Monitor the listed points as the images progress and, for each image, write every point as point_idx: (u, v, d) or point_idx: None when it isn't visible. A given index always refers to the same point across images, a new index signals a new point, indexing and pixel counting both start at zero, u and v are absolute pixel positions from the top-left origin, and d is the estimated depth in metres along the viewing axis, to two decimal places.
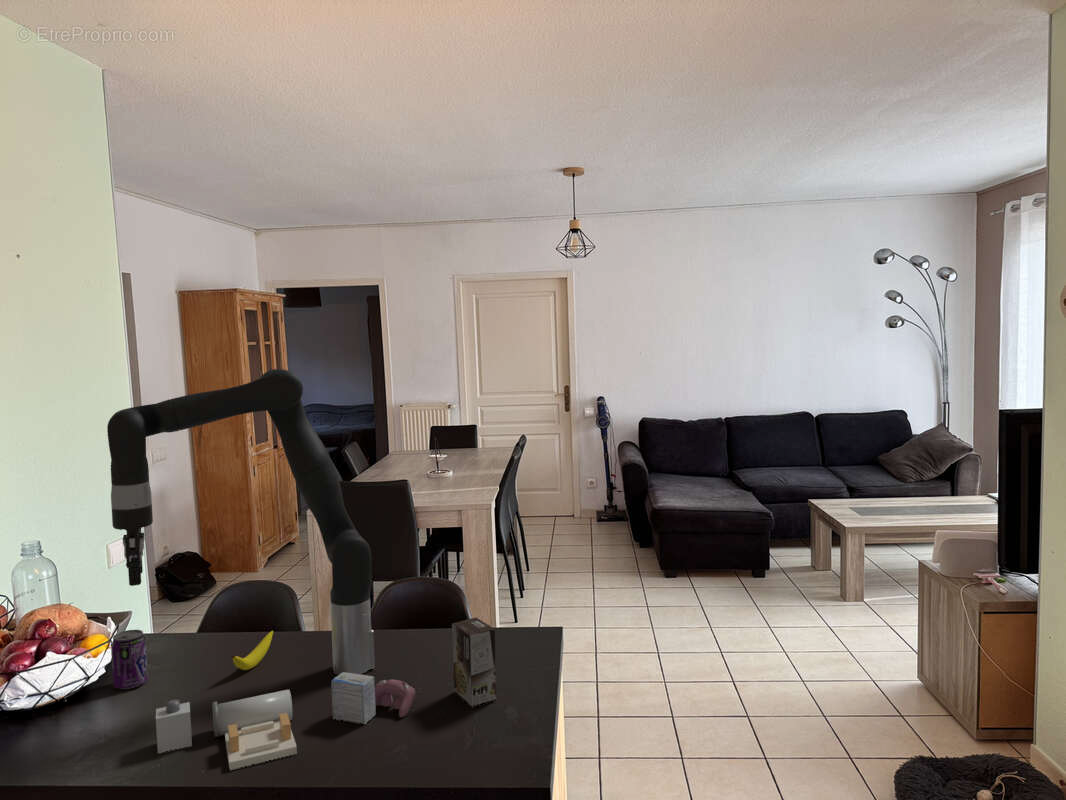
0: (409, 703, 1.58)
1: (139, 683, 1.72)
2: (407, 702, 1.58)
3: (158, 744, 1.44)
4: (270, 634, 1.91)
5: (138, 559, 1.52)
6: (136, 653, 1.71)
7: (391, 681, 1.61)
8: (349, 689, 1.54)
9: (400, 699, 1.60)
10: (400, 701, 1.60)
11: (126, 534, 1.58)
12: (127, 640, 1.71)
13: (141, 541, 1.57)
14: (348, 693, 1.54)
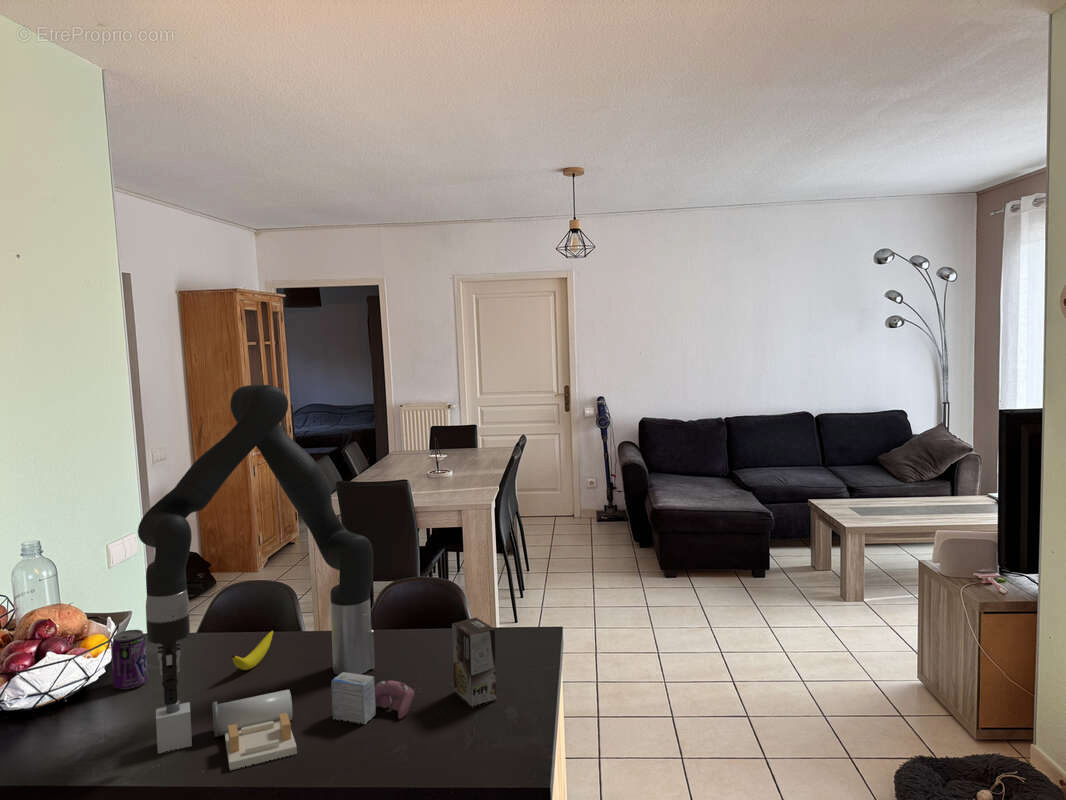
0: (408, 704, 1.57)
1: (139, 683, 1.72)
2: (406, 703, 1.57)
3: (158, 744, 1.44)
4: (270, 634, 1.91)
5: (175, 678, 1.40)
6: (136, 653, 1.71)
7: (390, 682, 1.61)
8: (349, 689, 1.54)
9: (399, 700, 1.60)
10: (399, 702, 1.59)
11: (161, 646, 1.47)
12: (127, 640, 1.71)
13: (177, 655, 1.45)
14: (348, 693, 1.54)
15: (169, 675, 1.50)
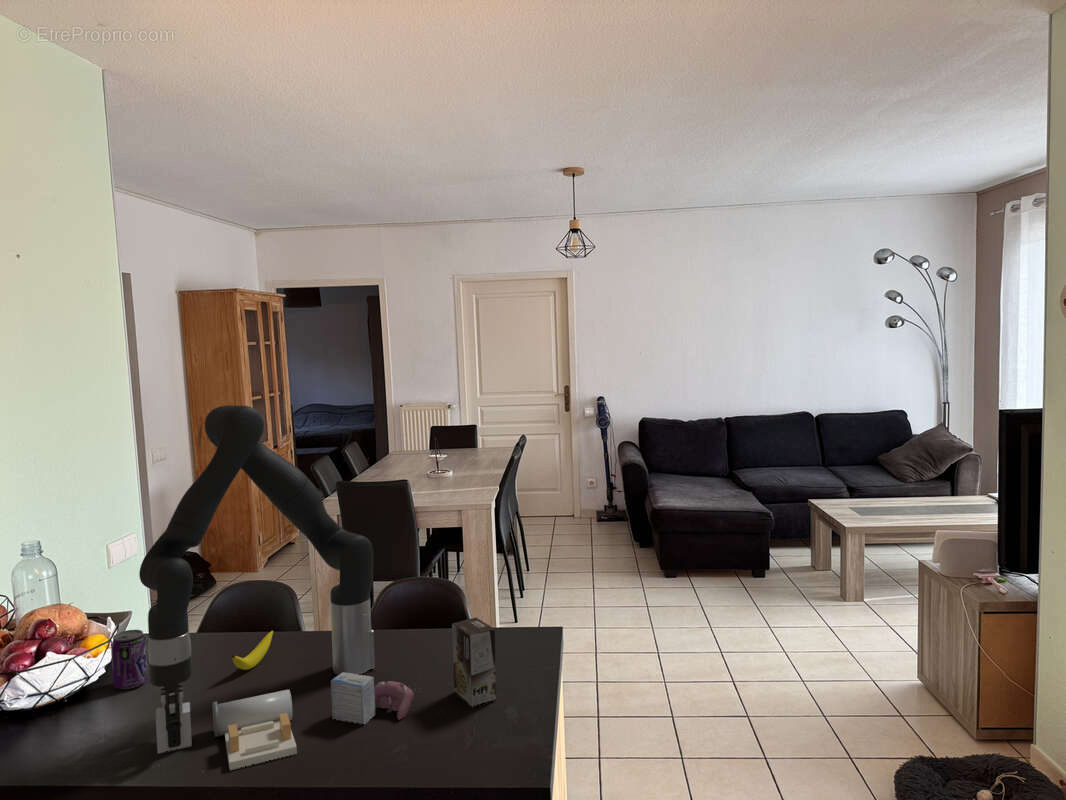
0: (407, 705, 1.57)
1: (139, 683, 1.72)
2: (405, 704, 1.57)
3: (158, 744, 1.44)
4: (270, 634, 1.91)
5: (178, 723, 1.42)
6: (136, 653, 1.71)
7: (389, 683, 1.60)
8: (348, 689, 1.54)
9: (398, 701, 1.59)
10: (398, 703, 1.59)
11: (164, 687, 1.47)
12: (127, 640, 1.71)
13: (180, 698, 1.45)
14: (347, 693, 1.54)
15: None
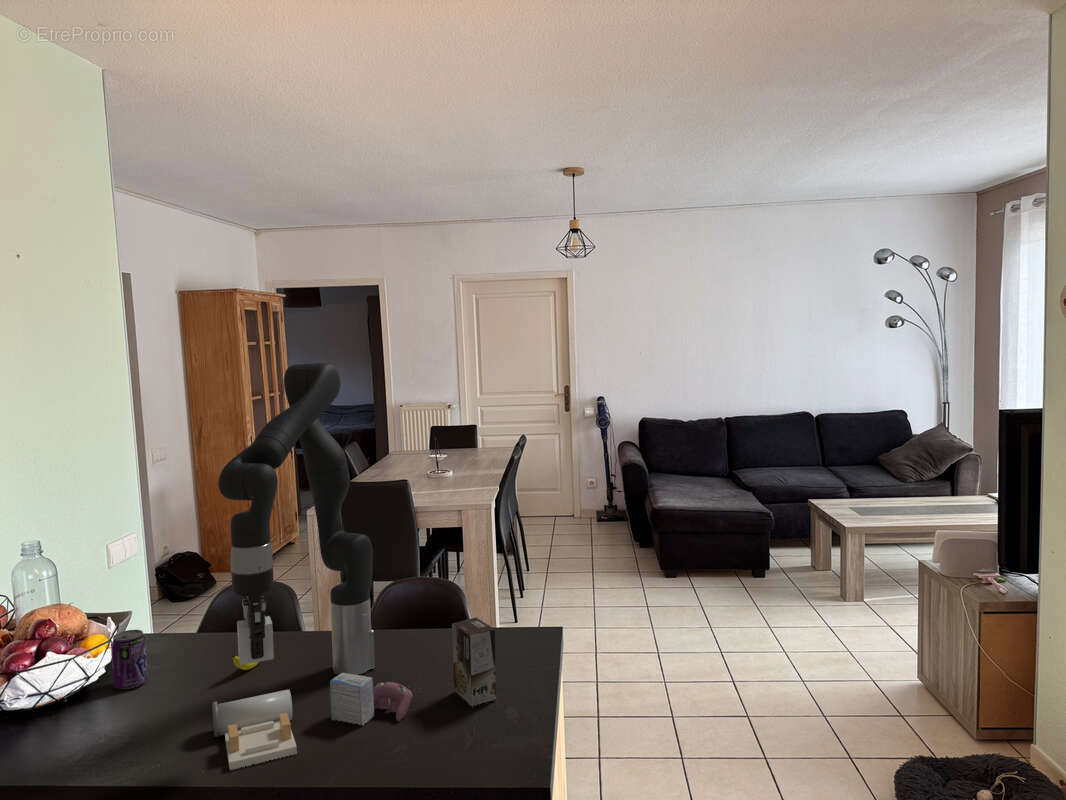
0: (406, 706, 1.57)
1: (139, 683, 1.72)
2: (404, 705, 1.56)
3: (241, 655, 1.41)
4: None
5: (263, 633, 1.40)
6: (136, 653, 1.71)
7: (388, 684, 1.60)
8: (347, 690, 1.54)
9: (397, 702, 1.59)
10: (397, 704, 1.59)
11: (245, 599, 1.45)
12: (127, 640, 1.71)
13: (263, 609, 1.43)
14: (346, 694, 1.54)
15: None
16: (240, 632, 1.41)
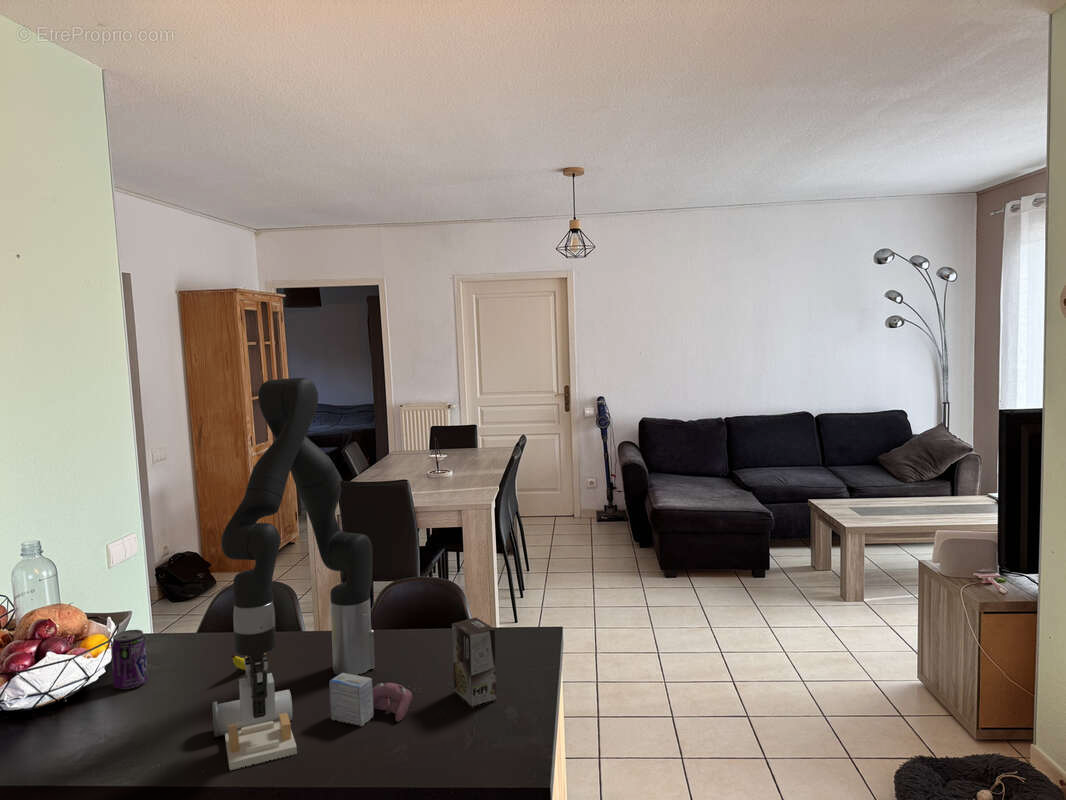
0: (406, 707, 1.56)
1: (139, 683, 1.72)
2: (404, 706, 1.56)
3: (243, 714, 1.42)
4: None
5: (265, 693, 1.40)
6: (136, 653, 1.71)
7: (388, 684, 1.60)
8: (346, 690, 1.54)
9: (397, 703, 1.58)
10: (397, 705, 1.58)
11: (247, 657, 1.45)
12: (127, 640, 1.71)
13: (265, 668, 1.43)
14: (345, 694, 1.54)
15: None
16: (242, 691, 1.42)
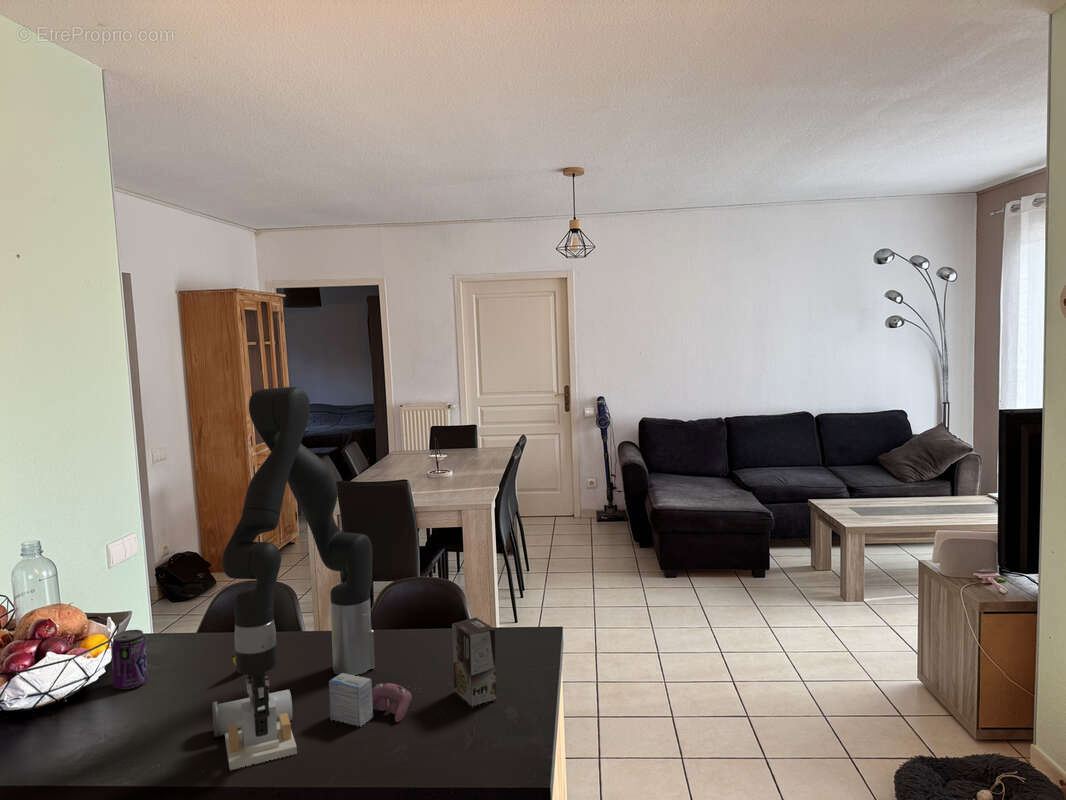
0: (405, 707, 1.56)
1: (139, 683, 1.72)
2: (403, 707, 1.56)
3: (245, 739, 1.43)
4: None
5: (267, 710, 1.39)
6: (136, 653, 1.71)
7: (387, 685, 1.59)
8: (345, 691, 1.54)
9: (396, 703, 1.58)
10: (396, 705, 1.58)
11: (248, 676, 1.46)
12: (127, 640, 1.71)
13: (266, 686, 1.44)
14: (344, 695, 1.54)
15: None
16: (244, 716, 1.42)
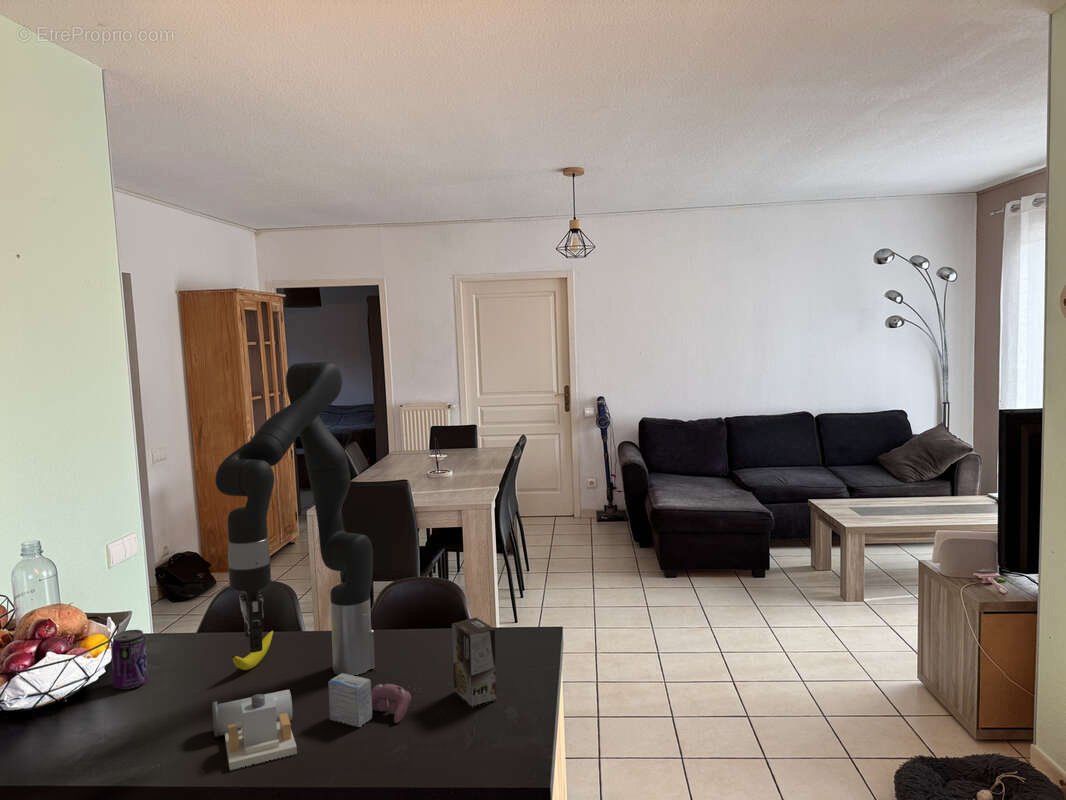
0: (404, 708, 1.56)
1: (139, 683, 1.72)
2: (402, 707, 1.55)
3: (245, 739, 1.43)
4: (270, 634, 1.91)
5: (261, 624, 1.39)
6: (136, 653, 1.71)
7: (387, 685, 1.59)
8: (344, 691, 1.53)
9: (396, 704, 1.58)
10: (396, 706, 1.58)
11: (242, 594, 1.45)
12: (127, 640, 1.71)
13: None
14: (343, 695, 1.54)
15: None
16: (244, 716, 1.42)
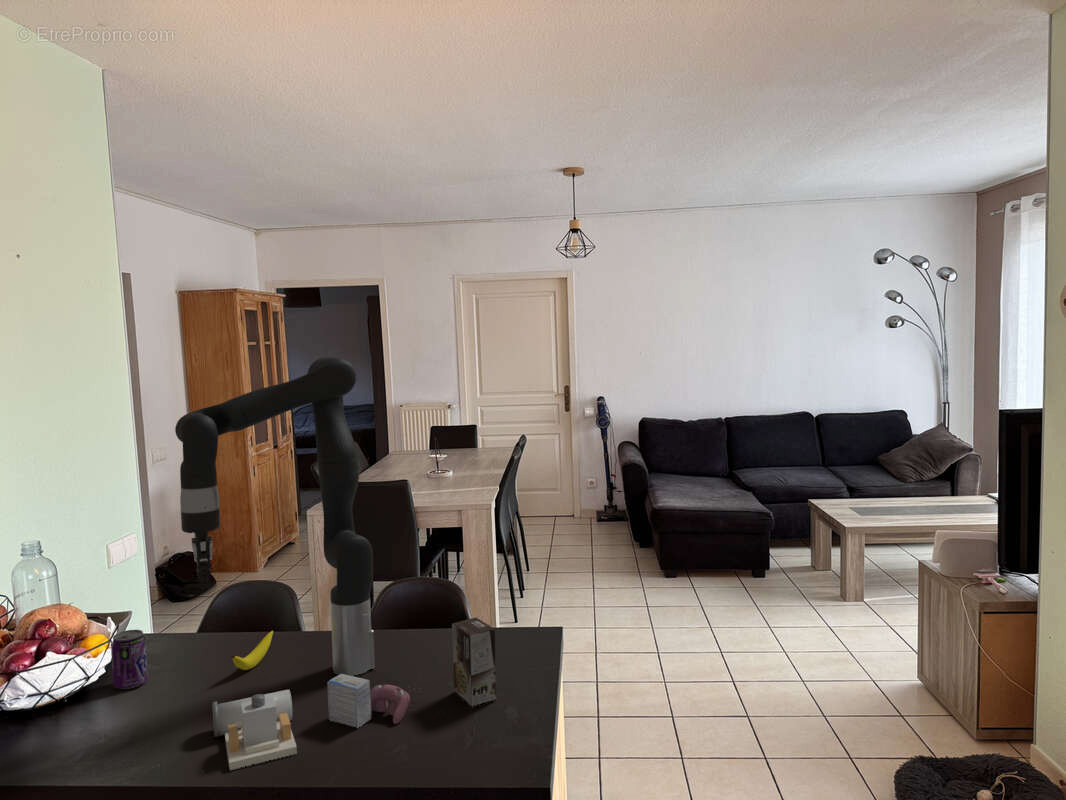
0: (403, 709, 1.55)
1: (139, 683, 1.72)
2: (401, 708, 1.55)
3: (245, 739, 1.43)
4: (270, 634, 1.91)
5: (209, 562, 1.53)
6: (136, 653, 1.71)
7: (386, 686, 1.59)
8: (343, 692, 1.53)
9: (395, 705, 1.58)
10: (395, 707, 1.57)
11: None
12: (127, 640, 1.71)
13: (210, 545, 1.57)
14: (342, 696, 1.53)
15: None
16: (244, 716, 1.42)
